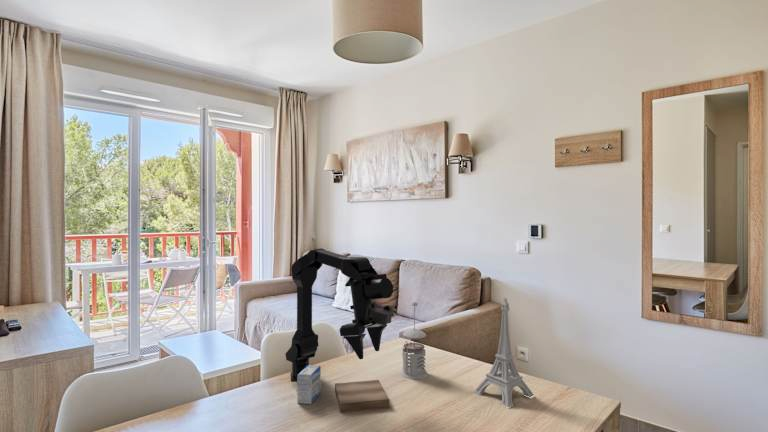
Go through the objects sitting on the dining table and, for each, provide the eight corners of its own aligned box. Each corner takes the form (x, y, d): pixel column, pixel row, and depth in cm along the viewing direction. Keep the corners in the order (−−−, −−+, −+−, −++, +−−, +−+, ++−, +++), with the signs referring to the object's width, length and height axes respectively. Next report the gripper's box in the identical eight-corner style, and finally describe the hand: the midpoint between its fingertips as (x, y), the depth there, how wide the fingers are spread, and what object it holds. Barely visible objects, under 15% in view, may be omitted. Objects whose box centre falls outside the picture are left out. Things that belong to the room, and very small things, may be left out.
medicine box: (311, 405, 119) (311, 375, 119) (296, 403, 120) (297, 373, 120) (320, 393, 127) (321, 365, 127) (307, 392, 128) (307, 364, 128)
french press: (432, 372, 145) (433, 301, 145) (417, 383, 135) (418, 307, 135) (408, 366, 150) (409, 298, 150) (391, 376, 140) (392, 303, 140)
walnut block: (334, 391, 128) (334, 383, 128) (378, 387, 132) (378, 379, 132) (340, 412, 115) (340, 403, 115) (389, 407, 118) (389, 399, 118)
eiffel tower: (500, 382, 137) (501, 292, 137) (535, 397, 126) (536, 299, 126) (472, 392, 129) (474, 297, 129) (508, 409, 118) (509, 304, 118)
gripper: (369, 302, 109) (378, 362, 107) (400, 293, 125) (408, 346, 123) (335, 306, 114) (342, 363, 112) (369, 297, 130) (376, 347, 128)
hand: (369, 354), depth 119 cm, fingers open, 9 cm apart
